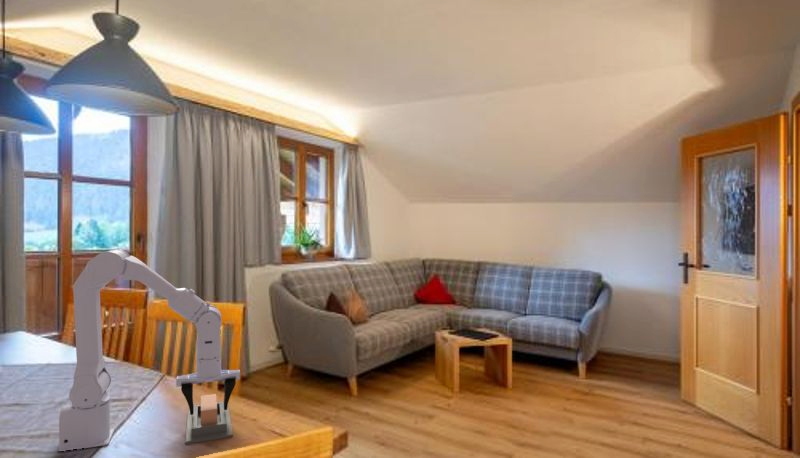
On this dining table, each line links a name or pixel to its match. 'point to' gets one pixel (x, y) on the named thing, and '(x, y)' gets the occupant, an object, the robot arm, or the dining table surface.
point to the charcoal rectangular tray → (208, 425)
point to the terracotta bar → (208, 409)
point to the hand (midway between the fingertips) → (208, 410)
